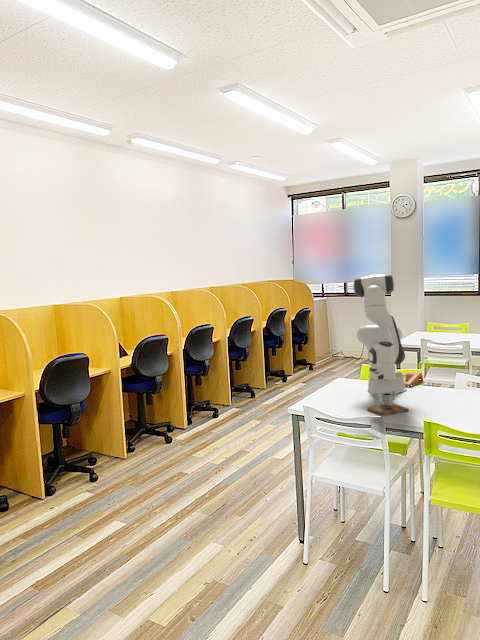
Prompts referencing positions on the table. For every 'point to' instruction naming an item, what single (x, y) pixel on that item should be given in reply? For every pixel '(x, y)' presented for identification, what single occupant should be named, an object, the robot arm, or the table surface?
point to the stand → (387, 409)
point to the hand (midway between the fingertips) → (387, 400)
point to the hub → (387, 399)
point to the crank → (413, 378)
